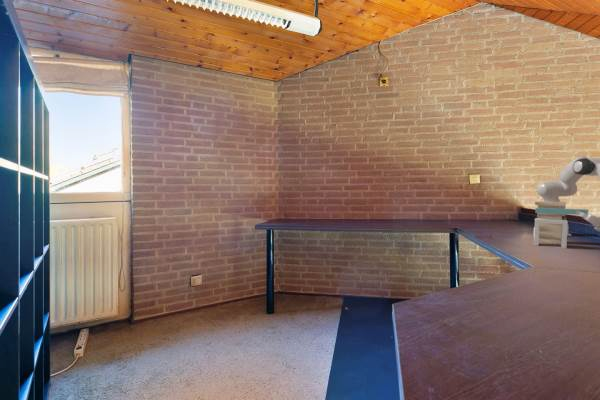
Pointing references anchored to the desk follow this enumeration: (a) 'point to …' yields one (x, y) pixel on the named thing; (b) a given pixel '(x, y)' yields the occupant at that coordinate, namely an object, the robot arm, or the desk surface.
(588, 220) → the robot arm
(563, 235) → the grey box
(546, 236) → the birch shelf
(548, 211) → the teal rectangular bar
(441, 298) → the desk surface
